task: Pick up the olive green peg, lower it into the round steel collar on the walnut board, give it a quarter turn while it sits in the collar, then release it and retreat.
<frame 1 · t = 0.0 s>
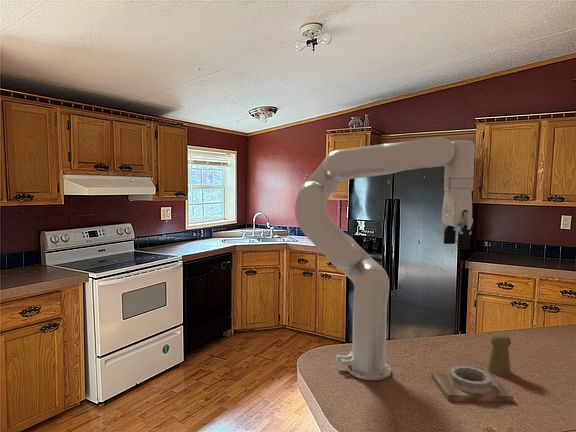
hand: (456, 246, 110), 37 cm above the table, tool pointing down, fingers open, 9 cm apart
socket board: (469, 389, 103), on the table
olive green peg: (498, 372, 114), on the table
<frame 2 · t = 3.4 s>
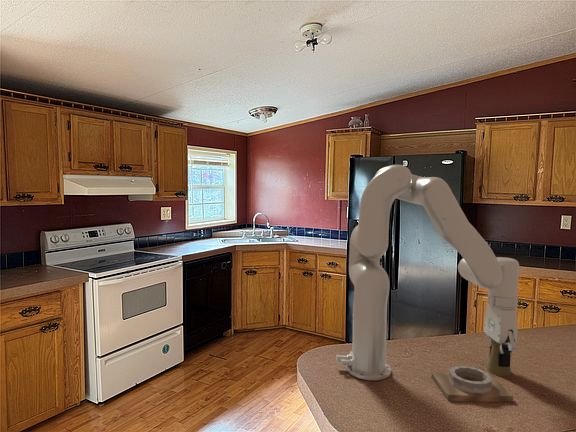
hand: (499, 362, 113), 3 cm above the table, tool pointing down, fingers closed on olive green peg, 4 cm apart
olive green peg: (499, 372, 114), on the table, touching gripper
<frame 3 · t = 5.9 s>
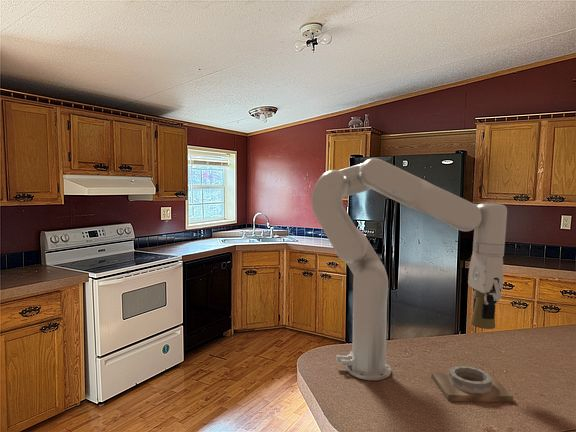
hand: (483, 315, 107), 19 cm above the table, tool pointing down, fingers closed on olive green peg, 4 cm apart
olive green peg: (482, 325, 107), point 16 cm above the table, touching gripper
when the fingers open (6 cm above the table, at t = 8.6 s): olive green peg drops 1 cm, resting on socket board.
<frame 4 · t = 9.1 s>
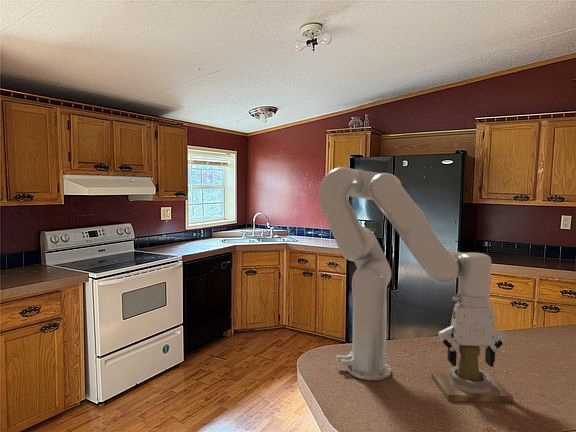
hand: (470, 364, 103), 7 cm above the table, tool pointing down, fingers open, 9 cm apart
olive green peg: (467, 384, 104), point 1 cm above the table, touching socket board
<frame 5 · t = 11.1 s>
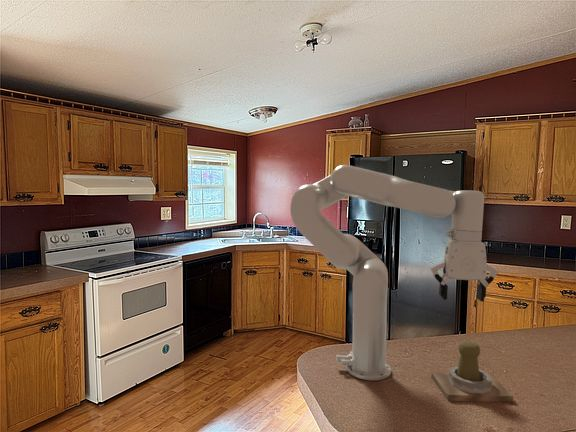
hand: (461, 299, 106), 23 cm above the table, tool pointing down, fingers open, 9 cm apart
nothing on the table moved.
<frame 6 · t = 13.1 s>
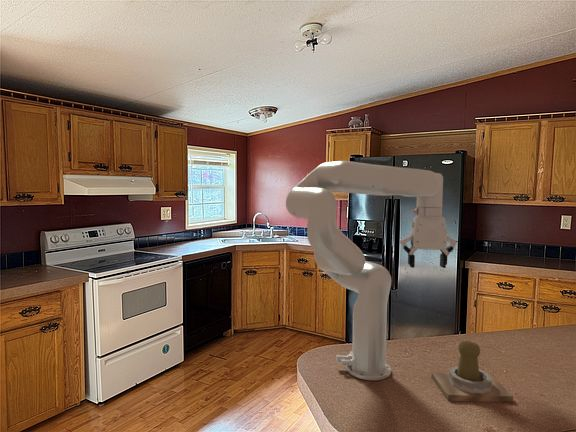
hand: (427, 267, 123), 28 cm above the table, tool pointing down, fingers open, 9 cm apart
nothing on the table moved.
at the end: olive green peg 0.5 cm off-centre on the socket board, point 1.3 cm above the socket board's base; olive green peg tilted 0°; the gripper is holding nothing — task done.
